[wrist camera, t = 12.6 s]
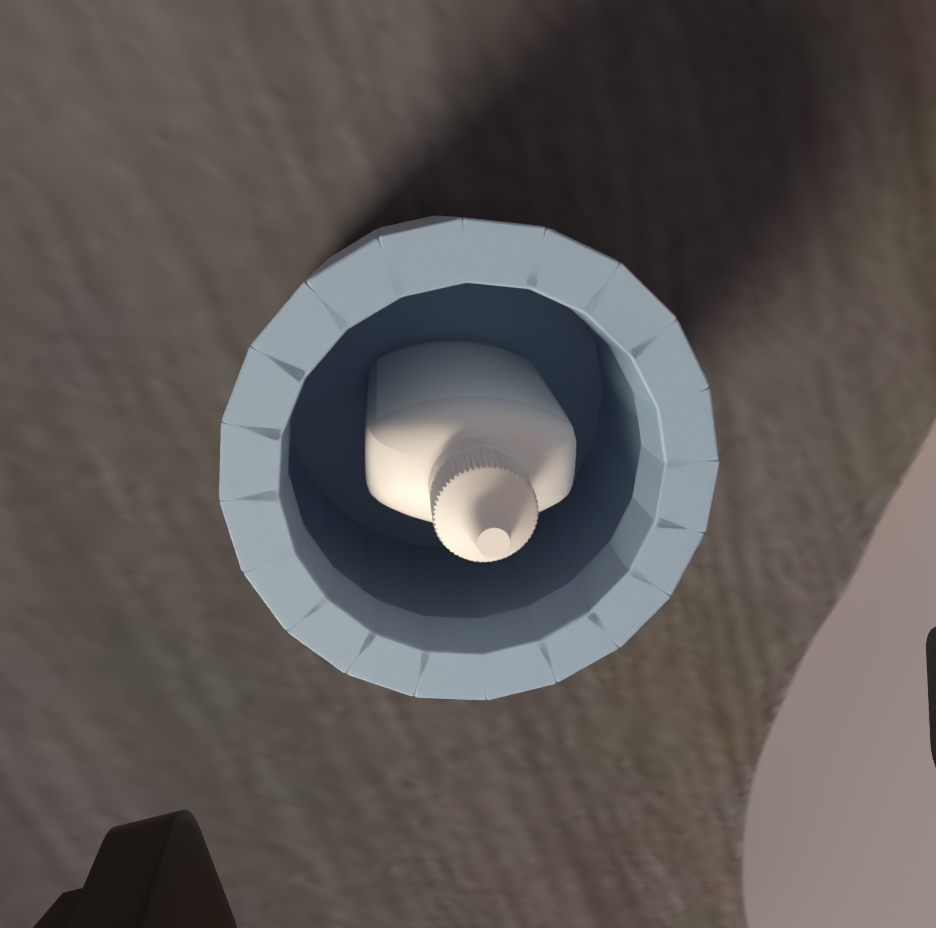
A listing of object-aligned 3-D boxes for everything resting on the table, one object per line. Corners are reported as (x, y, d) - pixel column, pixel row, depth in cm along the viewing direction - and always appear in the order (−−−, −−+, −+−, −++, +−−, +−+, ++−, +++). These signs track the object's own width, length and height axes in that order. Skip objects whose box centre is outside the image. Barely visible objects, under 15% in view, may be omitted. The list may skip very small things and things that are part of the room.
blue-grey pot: (227, 260, 28) (150, 286, 18) (581, 182, 28) (684, 168, 19) (321, 585, 32) (297, 747, 22) (634, 511, 32) (743, 639, 22)
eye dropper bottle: (411, 290, 28) (429, 391, 17) (554, 372, 29) (659, 517, 18) (347, 402, 29) (324, 569, 18) (488, 476, 30) (549, 673, 19)
